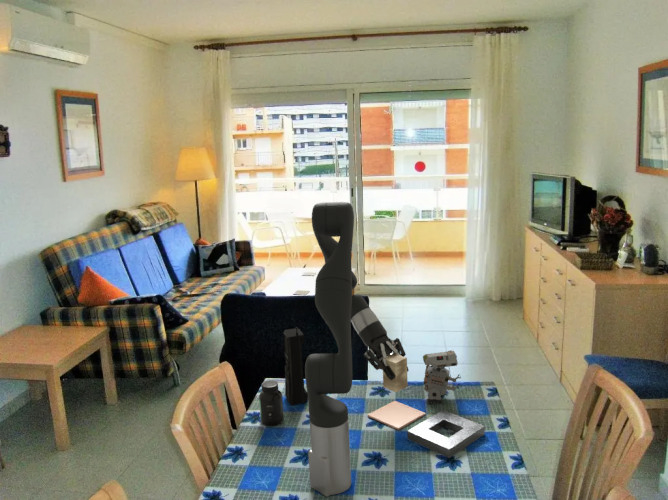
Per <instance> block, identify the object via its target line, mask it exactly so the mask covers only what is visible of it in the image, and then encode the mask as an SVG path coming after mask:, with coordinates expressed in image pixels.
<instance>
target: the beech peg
mask: <svg viewBox="0 0 668 500" xmlns="http://www.w3.org/2000/svg"><path fill="white" fill-rule="evenodd" d="M391 354H392V353H391ZM386 361H387V363H388V366H390V368H391V369H392V371H393V372H394V374H395V376H396V377H395V378H394V379H393V380H390V379H389V378H388V377H387V376H386V374H385V372H384V371H383V370H382V379H383V381H382V384H383V388H385V389H387V390H389V391H393V392H395V393H398V392H400V391H401V390H404V389H406V388H407V387H408V372H407V367H408V357H406V356H404V357H403V356H400V355H395V354H392V355H389V356H387V359H386Z"/></svg>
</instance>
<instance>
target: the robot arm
mask: <svg viewBox="0 0 668 500" xmlns="http://www.w3.org/2000/svg"><path fill="white" fill-rule="evenodd" d="M354 212H355V211H354V207H353V205H352V204H351V203H350V202H348V201H347V202H346V201H335V202H334V201H333V202H330V201H329V202H327V201H326V202H318V203H316V204H315V203H314V206H313V207H312V211H311V226H312V230H313V234H314V236H315V239H316V241H317V244H318V246H319V248H320V251H321V253H322V255H323V258H324V264H323V265H322V267H321V268H320V270H319V271H318V273H317V276H316V278H315V283H314V285H315V286H314V287H315V288H314V304H315V307H316V309H317V311H318V312H319V314H320V316H321V318H322V319H323V321H324V322H325V324H326V325H327V326H328V328H329V329H330V331H331V333H332V335H333V338H334V339H335V342H336V345H337V348H338V352H336V353H312V354H311V353H310V354H309V355H308V356H307V357H306V361H305V365H304V375H305V376H304V377H305V378H304V379H305V385H306V391H307V395H308V401H307V404H308V417H309V418H308V419H309V432H310V433H309V435H310V449H309V450H308V451H307V453H308V455H307V456H308V457H307V458H308V470H309V484H310V485H309V486H310V488H312V489H314V490H316V492H319V494H322V495H323V496H325V497H329V496H333V495H339V494H342V493H344V492H346V491H348V490H349V489H350V487H351V485H352V470H351V466H352V465H351V446H350V444H351V443H350V427H349V426H350V425H349V423H350V421H349V409H348V406H347V405H346V403H344V402H343V401H341V400H339V399H336V398H333V397H332V396H329V395H341V394H342V395H344V394H348V393H349V392H350V391H351V389H352V386H353V354H352V328H351V326H353V328H354V330H355V331H356V333H357V335H358V336H359V337H360V339H361V340H362V342H363V344H364V345H365V346H366V347H367V348H368V350H366V352H365V353H364V354H363V357H364V358H365V359H366V360H367V362H368V363H369V364H370V365H371V366H372V367H373V369H375V370H376V371H378V370H381V371H382V372H383V371H384V372H385V374H386V376H387V377H388V378H389V379H390V380H393V379H394V378H395V377H396V376H395V374H394V372H393V371H392V369H391V368H390V366H388V363H387V361H386V359H387V356H389V355H392V354H395V355H400V356H403V357H406V354H407V353H406V351H405V349H404V347H403V345H402V342H401V341H400V338H398V337H396V338H394V339H391V338H390V337H388V332H387V330H386V328H385V326H384V325H383V324H382V323H381V320H379V318H378V316H377V315H376V313H375V312H374V311H373V310H372V309H371V307H370V306H369V304H368V303H367V301H366V300H365V298H364V296H363V295H361V294H360V293H357V294H353V290H354V289H355V288H356V287H357V285H358V284H357V283H358V278H357V276H356V275H355V273H354V272H353V270H352V260H353V259H352V256H353V255H352V254H353V252H352V251H353V240H354V225H355V224H354V223H355V213H354ZM335 237H336V238H337V237H338V238H339V240H338V241H337V240H336V239H334V238H335ZM408 372H409V366H407V373H408Z"/></svg>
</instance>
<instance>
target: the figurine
mask: <svg viewBox="0 0 668 500" xmlns="http://www.w3.org/2000/svg"><path fill="white" fill-rule="evenodd" d="M457 358H458V356H457V354H456V352H455V351H454V350H448V351H442V352H433V353H432V352H431V353H425V354H423V356H422V360H423V363H424V365H425V371H424V378H423V385H424V387H423V390H424V391H425V392H426V393H427V395H428V396H427V401H426V402H427V403H428V404H432V405H433V404H436V405H440V404H442V402H443V401H442V397H441V396H445V395H446V394H447V391H454V392H455V391H456V389H460V386H461V385H460V383H458V385H456V386H454V385H453V386H450V385H448V384H449V381H451V382H453V383H456V382H457V380H458V379H462V376H461V375H460V374H458V375H457V376H456V377H451V376H450V372H451V371H450V370H449V369H448V367H457V366H458V359H457Z"/></svg>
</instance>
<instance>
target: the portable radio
mask: <svg viewBox="0 0 668 500" xmlns="http://www.w3.org/2000/svg"><path fill="white" fill-rule="evenodd" d="M304 343H305V335H304V333H303V332H302V331H301V329H300V328H298V326H296V327H295V328H289V329H284V330H283V348H284V351H283V352H284V357H285V365H284V381H285V382H284V383H285V384H284V386H285V387H284V388H285V390H284V393H285V394H284V396H285V398H286V400H287V402H288V403H289V404H290V405H291V406H295V405H301V404H305V403H308V395H307V389H306V388H305V380H304V379H305V378H304V377H305V376H304V367H303V366H304V365H303V362H304V361H303V347H302V345H303V344H304Z"/></svg>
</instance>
